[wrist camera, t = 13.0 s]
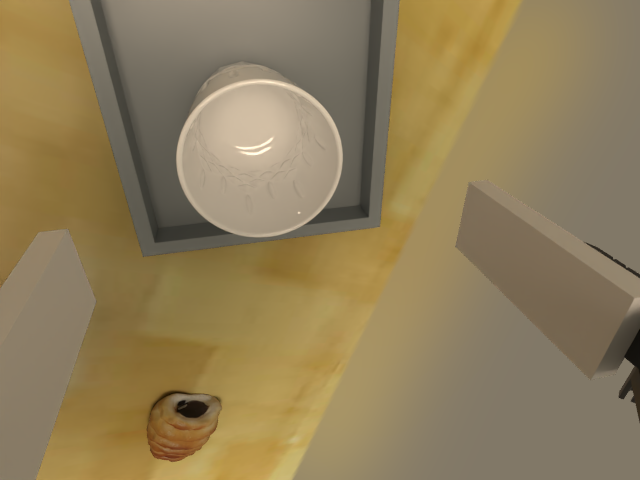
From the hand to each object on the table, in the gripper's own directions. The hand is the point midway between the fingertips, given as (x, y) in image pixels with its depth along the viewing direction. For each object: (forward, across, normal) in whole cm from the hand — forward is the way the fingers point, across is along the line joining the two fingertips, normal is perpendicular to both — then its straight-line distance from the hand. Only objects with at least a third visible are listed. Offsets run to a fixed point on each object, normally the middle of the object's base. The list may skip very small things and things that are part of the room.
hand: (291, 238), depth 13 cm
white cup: (+17, 0, 0) cm, 17 cm away
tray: (+18, +1, 0) cm, 18 cm away
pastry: (+18, -10, -32) cm, 38 cm away
